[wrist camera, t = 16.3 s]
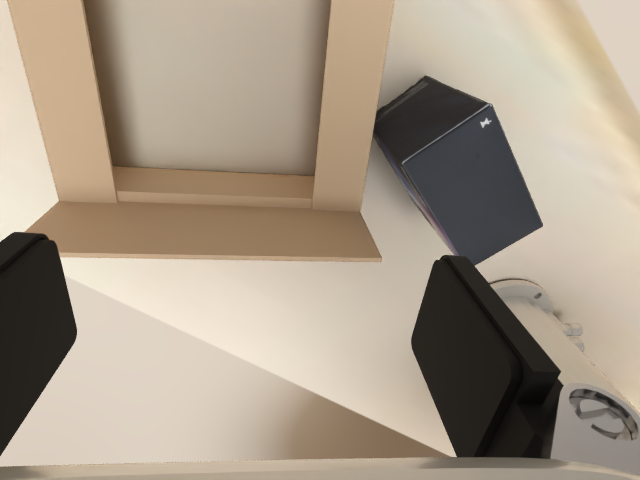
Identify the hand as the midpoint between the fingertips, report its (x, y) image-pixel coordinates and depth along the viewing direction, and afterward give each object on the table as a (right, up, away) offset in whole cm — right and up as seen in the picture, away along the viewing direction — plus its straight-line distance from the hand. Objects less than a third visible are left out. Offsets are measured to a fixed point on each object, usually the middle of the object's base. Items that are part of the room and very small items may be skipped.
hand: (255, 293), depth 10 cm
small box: (+11, +9, +24) cm, 28 cm away
